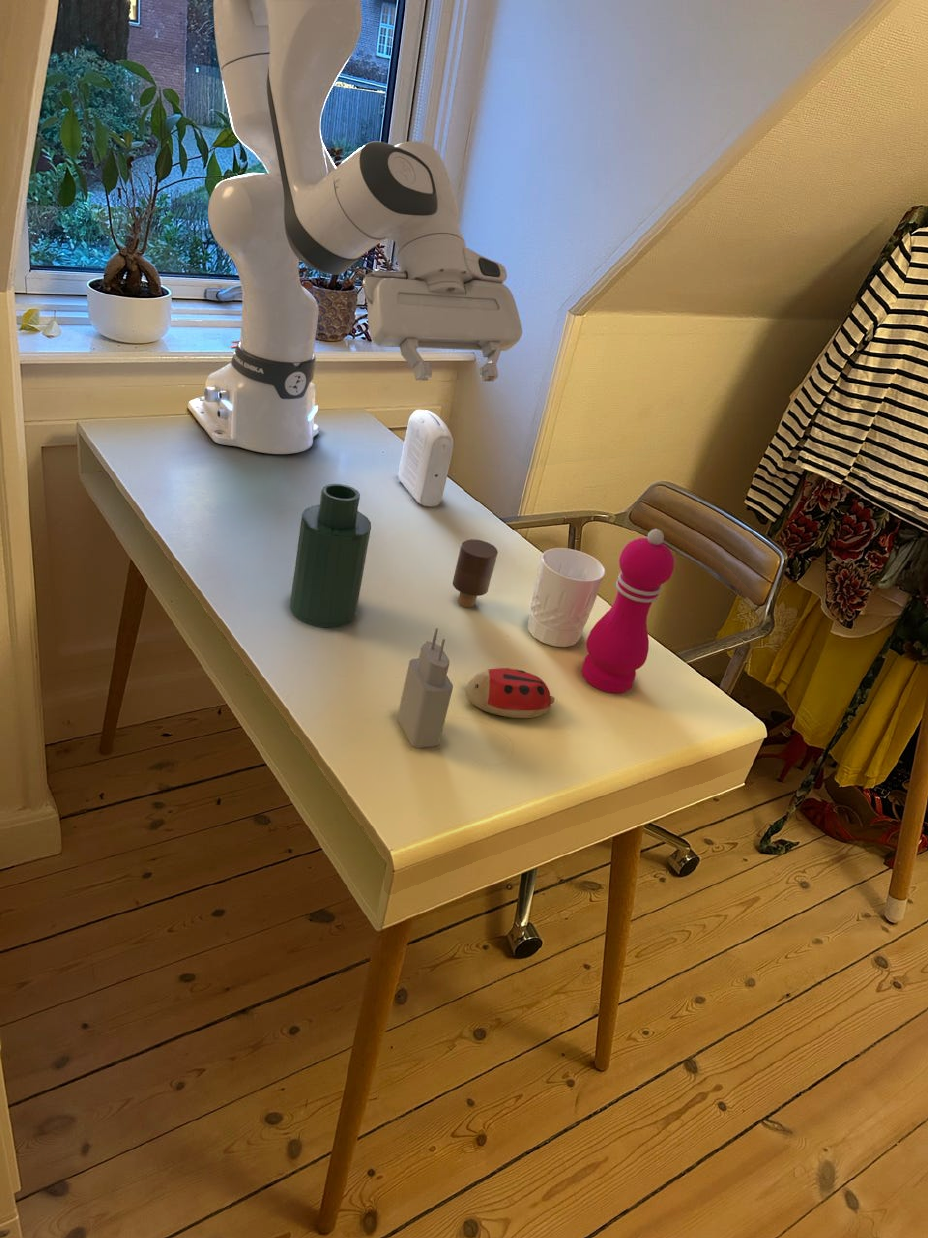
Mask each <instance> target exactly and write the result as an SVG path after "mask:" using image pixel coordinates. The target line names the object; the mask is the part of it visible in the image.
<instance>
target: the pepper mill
mask: <svg viewBox="0 0 928 1238" xmlns="http://www.w3.org/2000/svg"><path fill="white" fill-rule="evenodd" d="M664 540H665V534H664V533H663V531H662V530H660V529H658V528H653V529H651V530H650V531H648V534H647V537H640V538H636V539H633V540H631V541H629V542H628V543H627V544H626V545H625V546H624V548H623V549H622V551H621V553H620V555H619V560H618V564H619V569H620V571H621V572H620V573H619V574H617V580H616V582H615V588H616V590H617V592H616V597H615V599H614V602H613V603H612V606H611V607H610V608H609V610H608V611H607V612H606V613H605V614H604V615H603V616H602V617H601V618H600V619H599V620H598V621H597V622H596V623H595V624H594V625H593V627H592V628H591V630H589V631H590V632H589V634H588V636H587V638H586V640H585V641H586V643H585V647H586V651H587V655H585V658H584V660H583V663H582V666H581V675H582V678H583V679H584V680H585V682H587V683H588V684H589V685H591V686H592V687H594V688H595V689H597V690H599V691H601V692H602V691H603V692H606V693H610V694H622V693H625V692H627V691H629V690H630V689H632V687H633V684H634V681H635V679H636V676H637V672H636V671H637V670H638V669H641V667H643V666H644V665H645V663H646V661H647V658H648V655H649V647H650V646H649V645H650V640H649V634H648V624H647V620H648V614H649V611H650V608H651V606H652V604H653V602H656V601H657V600H658V599H659V598H660V593H661V592H662V585H664V584H665V583H666V582H668V581H669V580H670V579H671V577H672V575H673V573H674V569H675V559H674V555H673V552H672V551H671V550H670V548H669V547H668V546H667V545H665V544H664V543H663V542H664Z"/></svg>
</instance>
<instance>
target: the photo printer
mask: <svg viewBox="0 0 928 1238" xmlns="http://www.w3.org/2000/svg"><path fill="white" fill-rule="evenodd" d="M453 453H454V439H453V436H452V433H451V431H450V429H449V427H448V426H447V424H446V423H445V422H444V421H443V420H442V419H441V418H440V417H439V415H437V414H436V413H434V411H433V412H432V411H430V410H428V409H416V410H414V411H413V412H412V413H411V414H410V416H409V418H408V421H407V427H406V431H405V437H404V441H403V446H402V453H401V457H400V462H399V467H398V474H397V475H398V476H397V477H398V480H399V481H400V482H401V483H402V485H403V486H404V488H405V489H406V490H407V491H408V493H409V494H410V496H411V497H412V498H413V499H414V500H415V501H416V502H417V503H418V504H420V505H422V506H423V507H436V506H438V505H439V504H441V503H442V500H443V495H444V492H445V486H446V483H447V478H448V474H449V468H450V465H451V459H452V455H453Z"/></svg>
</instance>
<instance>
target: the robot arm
mask: <svg viewBox="0 0 928 1238" xmlns="http://www.w3.org/2000/svg"><path fill="white" fill-rule="evenodd" d="M212 2H213V4H212V5H213V28H214V39H215V46H216V47H215V48H216V54H217V61H218V65H219V70H220V77H221V81H222V85H223V91H224V94H225V99H226V104H227V109H228V114H229V118H230V124H231V129H232V131H233V133H234V135H235V137H236V138H237V139H238V140H239V142H240V143H241V144H242V145H243V146H245V147H246V148H247V149H248V150H250V151H251V152H252V153H253V154H254V155H255V156H256V157H257V159H258V160H259V161H260V163H261V164H262V165H263V167H264V170H265V171H266V173H259V172H258V173H257V172H251V173H246V174H241V175H237V176H232V177H230V178H227V179H223V180H221V181H220V182H218V183H217V184H216V186H215V187H214V189H213V190H212V192H211V194H210V198H209V201H208V206H207V219H208V220H207V221H208V225H209V229H210V231H211V234H212V236H213V238H214V240H215V242H216V244H218V246H219V247H220V248H221V249H223V251H224V252H225V253H226V254H227V255H228V256H229V257H230V259H231V260H232V263H233V264H234V266H235V269H236V271H237V274H238V278H239V282H240V287H241V296H242V305H241V306H242V308H241V325H240V326H241V327H240V339H239V340H233V341H230V343H231V344H236V345H232V346H230V349H235V350H234V352H233V355H232V358H231V360H230V363H228V364H226V365H225V366H222V367H221V368H219V369H217V370H216V371H213V372H212V373H210V374H209V375H208V376H207V378H206V380H205V385H204V389H203V396H199V397H196V398H193V399H191V400H190V401H188V404H187V408H188V410H189V412H191V414H192V415H193V417H194V418H195V419H196V420H197V421H198V423H199V425H200V426H201V427H202V428H203V429H204V430H205V432H206V434H208V436H209V437H210V438H211V440H212V441H213V442H214V443H217V444H219V445H224V446H231V447H232V446H233V447H238V448H242V449H245V450H248V451H252V452H257V453H263V454H269V455H290V454H297V453H302V452H304V451H306V450H309V449H311V447H312V446H313V444H314V437H315V436H317V435H318V434H319V425H318V424H316V423H315V417H316V414H317V412H318V410H319V409H318V408H319V405H316V385H315V384H314V383H313V382H312V381H313V380H314V377H315V371H316V367H317V365H316V358H317V357H316V354H315V345H316V337H317V330H318V329H317V328H318V321H319V314H320V309H319V304H318V302H317V300H316V298H315V297H314V295H313V294H312V293H311V292H310V291H309V290H308V289H306V288H305V286H303V285H302V283H301V279H300V273H299V272H300V271H299V270H300V269H299V264H300V262H301V263H302V264H304V265H305V266H307V267H308V268H310V269H312V270H314V271H316V272H319V273H322V274H327V275H332V276H334V275H335V276H337V275H338V276H339V275H342V274H343V273H345V272H346V271H347V270H348V269H350V268H351V267H352V266H353V265H354V264H355V263H356V262H358V261H359V260H360V259H361V257H362V256H363V255H365V254H366V253H367V252H369V251H370V250H371V249H373V248H375V247H376V246H377V245H379V244H380V243H382V242H383V241H384V240H386V239H388V240H392V241H393V242H394V243H395V244H396V249H395V251H396V252H395V256H396V257H395V258H396V263H397V268H398V270H383V269H372V270H371V271H370V272H368V273H366V274H365V275H364V277H363V279H362V289H363V294H364V297H365V299H366V301H367V323H368V331H369V337H370V340H371V341H372V342H373V343H374V345H376V346H377V347H380V348H399V349H400V355H401V356H402V357H403V358H404V360H405V361H406V362H407V364H408V365H409V366H410V367H411V368H412V370H413V376H414V379H415V381H429V379H430V378H432V376H433V371H432V369H431V367H432V366H431V361H425V360H424V359H423V357H422V355H420V353H419V352H418V349H431V350H433V349H436V350H438V349H439V350H462V351H463V350H464V351H465V350H466V351H467V350H468V351H481V353H482V357H483V358H486V362H485V363H484V364H483V366H482V367H480V368H479V369H478V371H479V375H480V379H481V380H480V381H482V382H489V383H490V382H494V381H495V380H497V379H498V377H499V371H498V368H497V363H498V360H499V357H500V355H501V352H508V351H509V350H511V349H512V348H513V347H514V346H515V345H517V344H518V343H519V341H520V339H521V337H522V335H523V327H522V322H521V318H520V313H519V310H518V306H517V303H516V300H515V297H514V295H513V293H512V291H511V289H510V288H509V287H508V286H507V285H505V284H504V283H505V281H506V280H507V278H508V274H507V270H506V268H505V266H504V265H503V264H501V263H499V262H498V261H497V262H496V261H495V260H492V259H490V258H487V257H485V256H483V255H481V254H479V253H477V252H476V251H474V250H472V249H470V248H469V247H467V245H466V240H465V239H464V236H463V235H462V233H461V230H460V226H459V222H460V221H459V220H460V212H459V207H458V202H457V198H456V195H455V191H454V187H453V184H452V181H451V177H450V175H449V173H448V172H449V171H448V169H447V167H446V165H445V162H444V161H443V159H442V157H441V155H440V153H439V152H438V151H437V150H436V149H435V148H434V147H433V146H431V145H429V144H428V143H425V142H422V141H417V140H415V141H414V140H410V141H403V142H401V143H398V144H396V145H393V144H391V143H387V142H383V141H374V140H373V141H370V142H367V143H365V144H364V145H363V146H362V147H359V148H358V149H357V150H356V151H354V152H353V153H352V154H350V155H349V156H348V157H347V158H346V159H344V160H343V161H342V162H341V163H340V164H338V165H337V166H336V165H335V163H334V161H333V159H332V158H331V156H330V153H329V152H328V151H327V148H326V146H325V144H324V142H323V139H322V132H321V120H322V114H323V110H324V108H325V105H326V102H327V100H328V98H329V95H330V92H331V90H332V88H333V87H334V85H335V83H336V81H337V80H338V78H339V76H340V74H341V73H342V71H343V70H344V68H345V66H346V64H347V63H348V61H349V60H350V58H351V57H352V55H353V54H354V52H355V49H356V47H357V44H358V42H359V39H360V36H361V32H362V27H363V15H362V14H363V13H362V4H361V2H362V1H361V0H213V1H212Z"/></svg>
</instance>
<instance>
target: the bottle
mask: <svg viewBox="0 0 928 1238" xmlns="http://www.w3.org/2000/svg"><path fill="white" fill-rule="evenodd" d="M360 497H361V494H360V492H359V490H358V489H356V488H354V487H352V486H349V485H346V484H343V483H342V484H341V483H328V484H325V485H324V486H323V487H322V488H321V491H320V499H319V504H315V505H311V506H309V507H307V508H305V509H304V511H303V512H302V513H301V518H300V525H299V533H298V541H297V549H296V556H295V563H294V564H295V565H294V571H293V577H292V586H291V593H290V594H291V595H290V602H289V608H290V609H289V610H290V612H291V614H292V615H293V616H294V617H296V618H297V620H300V621H301V622H303V623H305V624H307V625H310V626H314V627H319V628H325V629H326V628H327V629H328V628H329V629H331V628H340V627H343V626H346V625H348V624H350V623H351V622H352V621H354V619H355V617H356V614H357V611H358V605H359V600H360V593H361V588H362V582H363V576H364V572H365V571H364V570H365V565H366V558H367V554H368V548H369V542H370V537H371V532H372V531H371V530H372V522H371V521H370V519H369V518H368V516H366V515H365V514H363V513H362V512H360V511H358V510H359V506H360V505H359V504H360Z"/></svg>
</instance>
